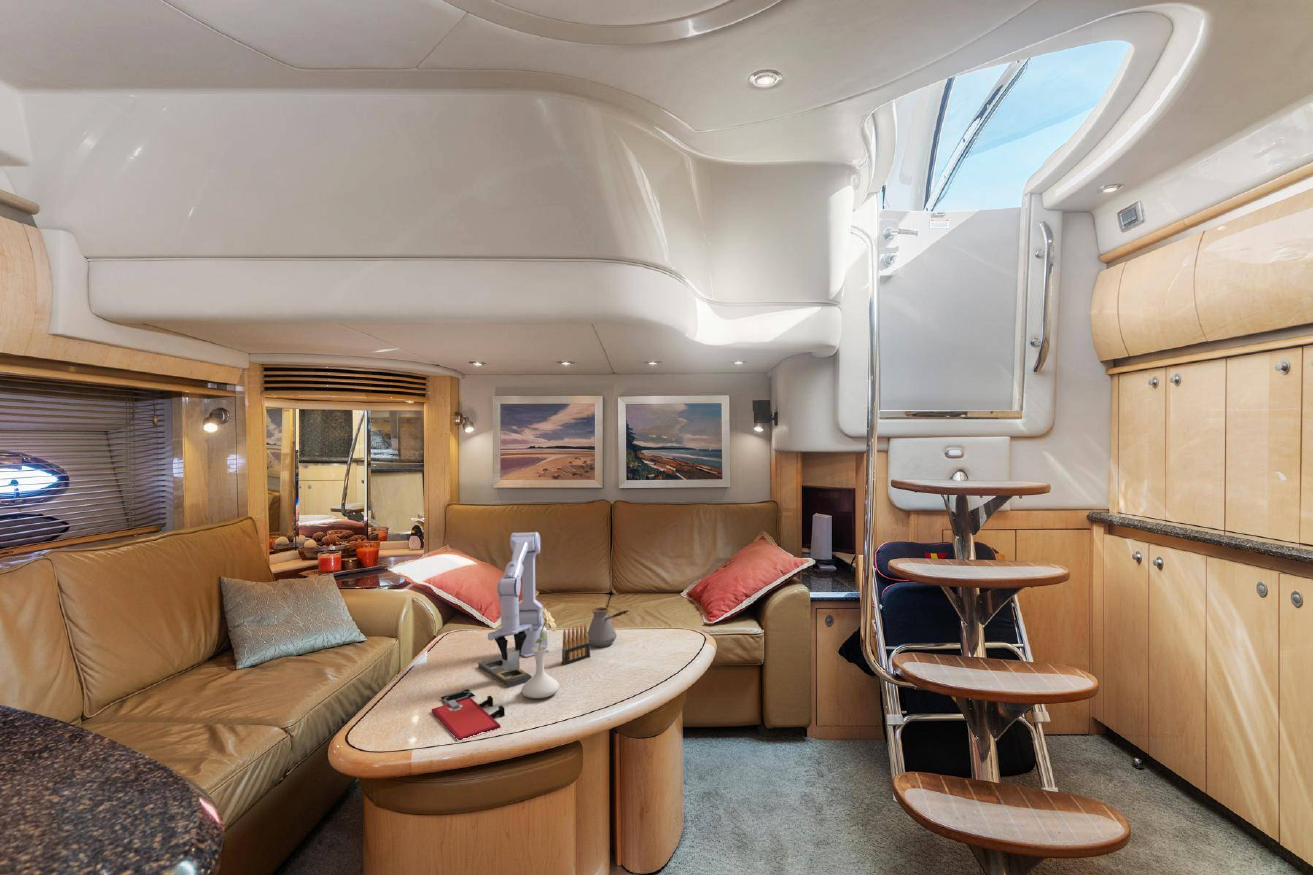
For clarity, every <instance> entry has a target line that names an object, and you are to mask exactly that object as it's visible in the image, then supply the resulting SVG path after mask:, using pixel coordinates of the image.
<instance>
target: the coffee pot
mask: <svg viewBox="0 0 1313 875" xmlns="http://www.w3.org/2000/svg"><path fill="white" fill-rule="evenodd" d="M609 611H610V609H609V608H608V607H605V606H603V607H595V608H592V610H591V612H592V613H593V617H592V620H591V622H590V626H589V627H588V629H587V631H588V643H589V645H591V646H592V647H596V648H603V647H605V648H606V647H609V646H612V643H613V642H614V641H615V640H616V639H617V632H616V629H615V628H614V626H613V624H612V621H611V619H614V618H616V617H620V616H622V615H626V616H627V617H630V616H631V614H632V612H631V611H630V610H629V609H625V610H622V611H619V612H617V613H615V614H613V615H610V616H609V615H608V614H609ZM628 612H629V613H630V614H629V615H628V614H627V613H628Z"/></svg>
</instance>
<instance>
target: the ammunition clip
mask: <svg viewBox="0 0 1313 875" xmlns="http://www.w3.org/2000/svg"><path fill="white" fill-rule="evenodd" d="M583 626H584V627H583ZM579 627H580V628H579ZM590 652H591V650H590V643H589V642H588V626H587V623H586V622H585V623H584V625H583V624H581V625H580V626H579V625H576V628H575V627H574V626H572V629H571V628H570V627H568V628H567V630H566V628H564V629H563V633H562V649H561V664H562V665H564V666H568V665H571V664H574V663H576V662H580V661H583V660H585V659H588V658H591V653H590Z"/></svg>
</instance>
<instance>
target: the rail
mask: <svg viewBox="0 0 1313 875" xmlns="http://www.w3.org/2000/svg"><path fill="white" fill-rule="evenodd" d="M497 665H498V666H497ZM502 665H503V659H502V656H499V657H494V658H490V659H486V660H484V661H479V662H478V666H477V667H478V668H479V669H480V670H481V671H483V672H484V673H486V674H487V675H489V676H491V677H492V678H493V679H495V680H496V681H497V682H500V683H501V684H502V685H503V686H505V687H507V688H508V689H509V688H512V687H516V686H519V685H522V684H523V685H524V684H525V683H526V682H527V681H528V680H529V679H530V678H532V677H533V675H531V674H529V673H527V672H526V671H524V670H523V669H521V668H520V669H517V670H513V671H510V672H507V671H506V670H504V669H503V666H502Z"/></svg>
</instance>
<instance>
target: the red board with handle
mask: <svg viewBox="0 0 1313 875" xmlns="http://www.w3.org/2000/svg"><path fill="white" fill-rule="evenodd" d="M473 697H476V695H475V693H473V692H472V691H471V690H470V689H469V688H467V689H463V690H460V691H456V692H453V693H449V694H446V695H442V696H440V698H441V700H442V701H444V703H445V704H444V705H441V706H437V707H435V708H432V709H431V713H432V714H433V715H434V717H435V718H437V720H438V719H439V720H440V721H439V720H438V721H439V722H440V723H441V722H442V723H443V724H444V725H445V726H444V725H443V724H442V723H441V724H442V725H443V726H444V727H445V728H446V727H447V728H446V730H447V729H448V730H449V731H450V732H451V733H452V734H453V735H454V736H455V737H454V736H453V735H452V734H451V733H450V732H449V731H448V730H447V731H448V732H449V733H450V734H451V735H452V736H453V737H454V738H455V739H456V738H457V739H458V740H461V739H463V738H468V737H470V736H473V735H477V734H479V733H481V732H486V733H488V732H487V731H489V732H491V731H490V730H492V731H495V729H496V730H498V729H497V728H499V729H501V724H500V723H499V722H498V721H497V720H496V719H495V718H497V717H499V716H500V717H502V718H503V717H505V716H506V714H505V712H506V710H505V707H504V706H503V705H502V704H501V705H499V706H498V709H497V710H495V711H494V712H493V713H491V714H489V712H487V711H486V710H485V709H484V708H485V707H486V706H488V707H490V708H492V707H494V697H493V696H492V695H488V696H487V697H486V700H484V701H482V702H480V703H477V702H476V701H475V700H474V699H473ZM477 736H478V735H477ZM457 739H456V740H457ZM468 739H469V738H468Z"/></svg>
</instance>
